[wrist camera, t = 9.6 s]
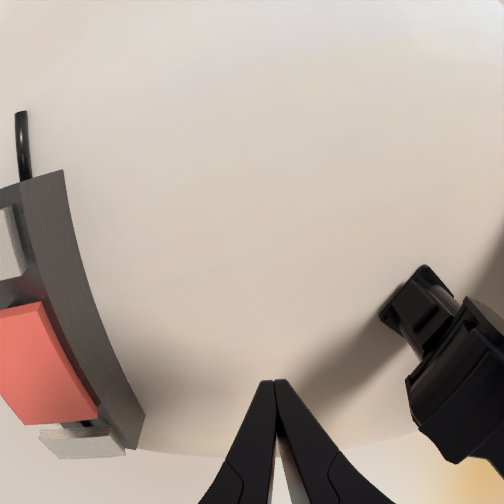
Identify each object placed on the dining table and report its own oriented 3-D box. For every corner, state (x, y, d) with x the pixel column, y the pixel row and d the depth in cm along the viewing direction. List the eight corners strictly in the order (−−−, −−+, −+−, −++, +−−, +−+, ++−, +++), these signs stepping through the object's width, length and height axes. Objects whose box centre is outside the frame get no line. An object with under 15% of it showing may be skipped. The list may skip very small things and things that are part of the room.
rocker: (41, 301, 16) (36, 310, 15) (97, 407, 20) (97, 418, 19) (-36, 317, 13) (-42, 326, 11) (26, 415, 17) (24, 425, 16)
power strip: (57, 98, 15) (-38, 94, 6) (145, 415, 29) (127, 482, 19) (-12, 133, 15) (-89, 150, 6) (81, 404, 29) (56, 460, 19)
